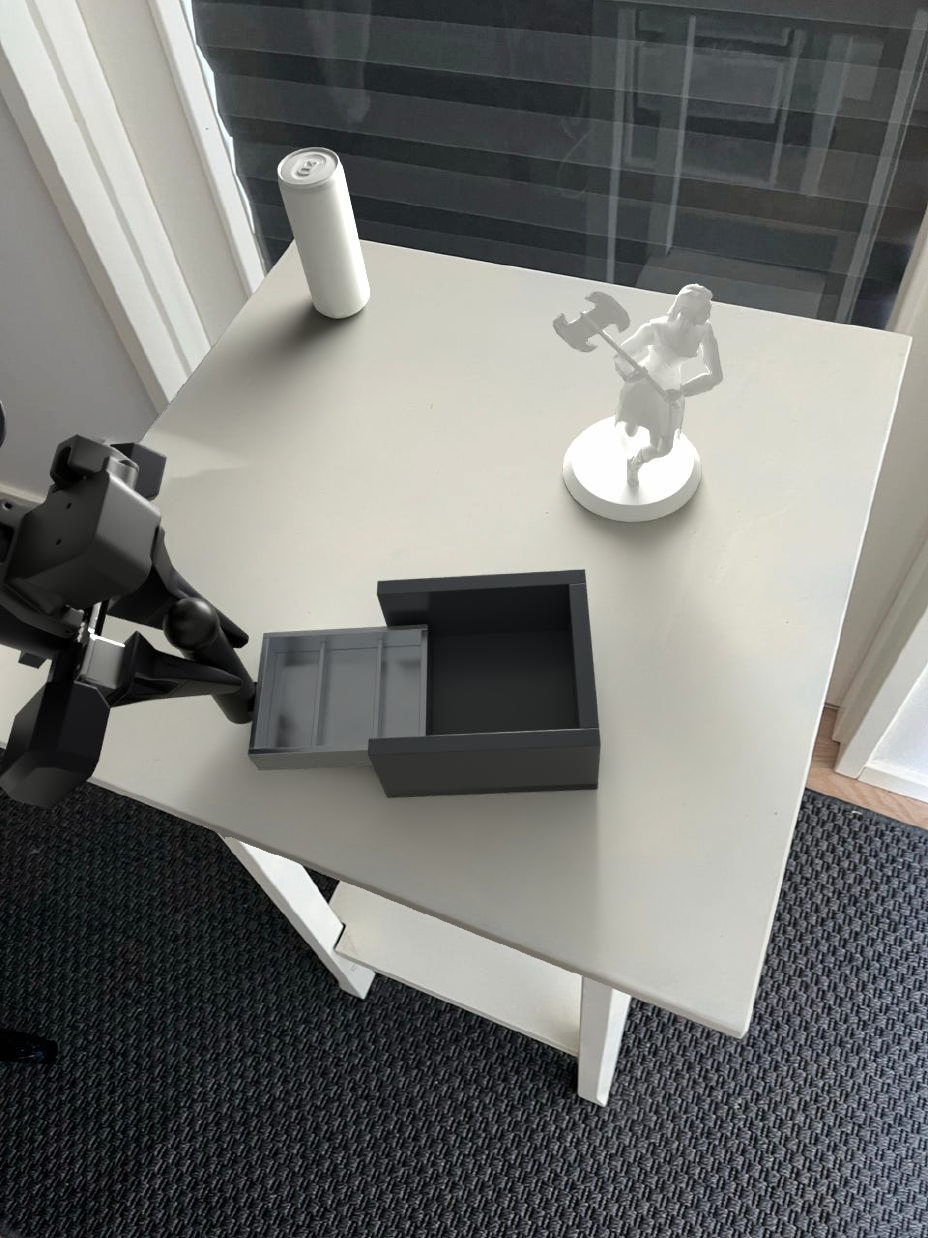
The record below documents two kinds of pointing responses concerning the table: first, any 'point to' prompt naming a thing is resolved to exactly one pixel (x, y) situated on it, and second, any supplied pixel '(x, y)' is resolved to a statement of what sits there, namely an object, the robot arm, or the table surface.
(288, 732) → the pull-out drawer
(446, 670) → the grey drawer case
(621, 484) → the figurine
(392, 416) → the table surface
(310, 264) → the beverage can
